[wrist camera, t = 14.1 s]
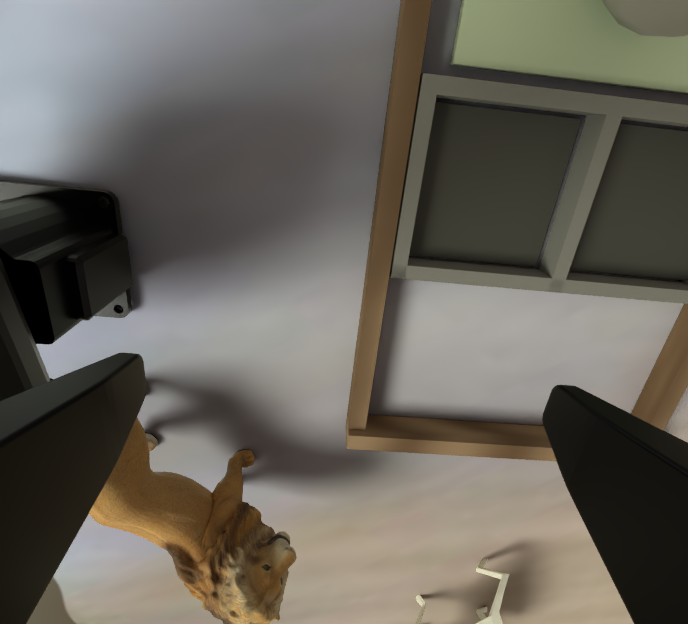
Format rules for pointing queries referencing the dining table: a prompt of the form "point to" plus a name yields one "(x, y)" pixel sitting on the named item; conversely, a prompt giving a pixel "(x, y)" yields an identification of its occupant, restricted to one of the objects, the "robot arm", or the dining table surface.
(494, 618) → the origami figure
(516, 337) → the dining table surface
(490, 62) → the pad
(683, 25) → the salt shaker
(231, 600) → the lion figurine
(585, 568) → the dining table surface
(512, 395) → the dining table surface
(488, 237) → the trap pits
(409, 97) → the wooden frame
